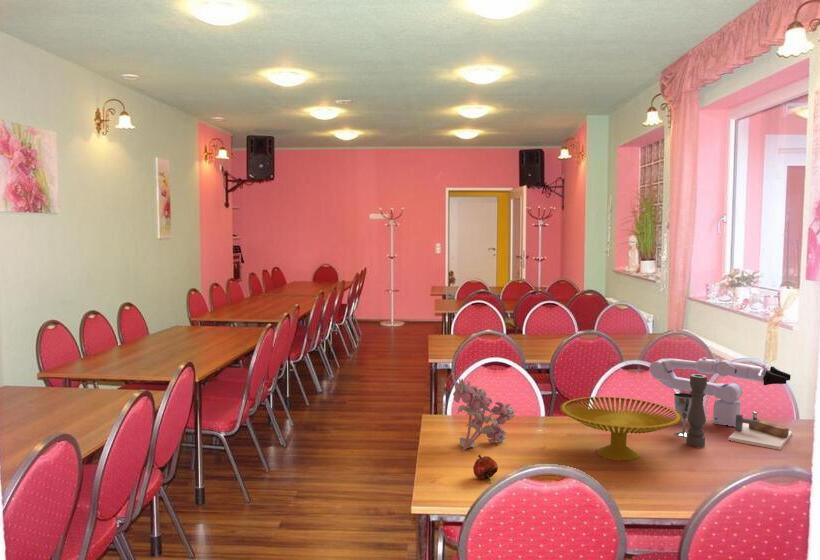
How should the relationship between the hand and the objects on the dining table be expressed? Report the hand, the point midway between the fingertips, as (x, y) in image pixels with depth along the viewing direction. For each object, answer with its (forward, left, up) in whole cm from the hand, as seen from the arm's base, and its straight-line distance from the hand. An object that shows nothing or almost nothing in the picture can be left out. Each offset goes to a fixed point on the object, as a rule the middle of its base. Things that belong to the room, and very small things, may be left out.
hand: (788, 379), depth 266 cm
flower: (-82, -83, -21) cm, 118 cm away
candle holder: (-23, -36, -21) cm, 47 cm away
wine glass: (-30, -26, -21) cm, 45 cm away
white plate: (-6, -11, -21) cm, 24 cm away
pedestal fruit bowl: (-41, -63, -21) cm, 78 cm away
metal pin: (-10, -5, -16) cm, 19 cm away
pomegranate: (-64, -112, -21) cm, 130 cm away
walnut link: (-5, -7, -19) cm, 21 cm away
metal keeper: (-11, -12, -20) cm, 25 cm away
